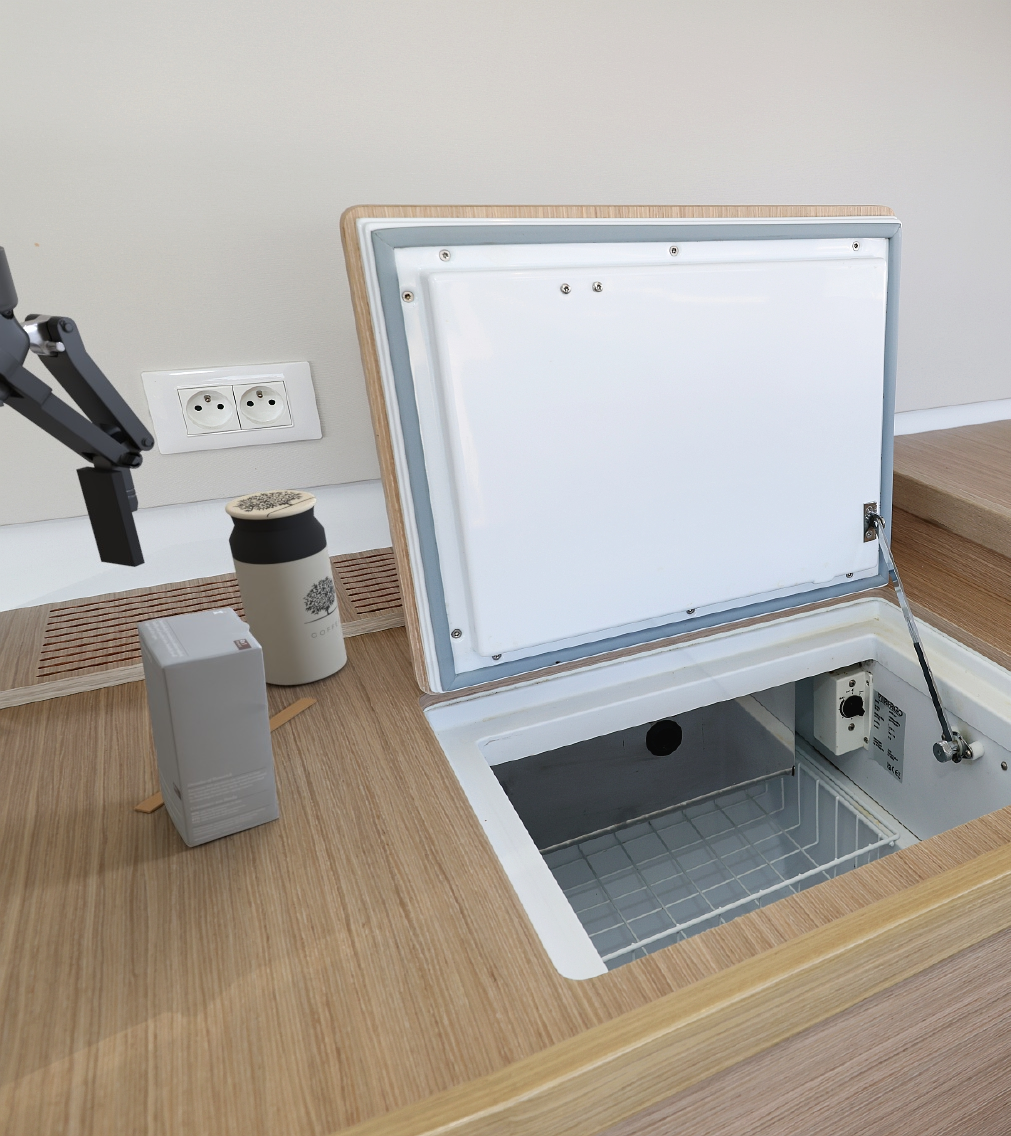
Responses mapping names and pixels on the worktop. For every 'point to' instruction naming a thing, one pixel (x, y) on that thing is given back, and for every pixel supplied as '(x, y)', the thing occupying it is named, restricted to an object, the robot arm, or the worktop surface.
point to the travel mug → (287, 585)
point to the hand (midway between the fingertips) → (22, 603)
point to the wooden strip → (274, 723)
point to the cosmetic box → (209, 723)
